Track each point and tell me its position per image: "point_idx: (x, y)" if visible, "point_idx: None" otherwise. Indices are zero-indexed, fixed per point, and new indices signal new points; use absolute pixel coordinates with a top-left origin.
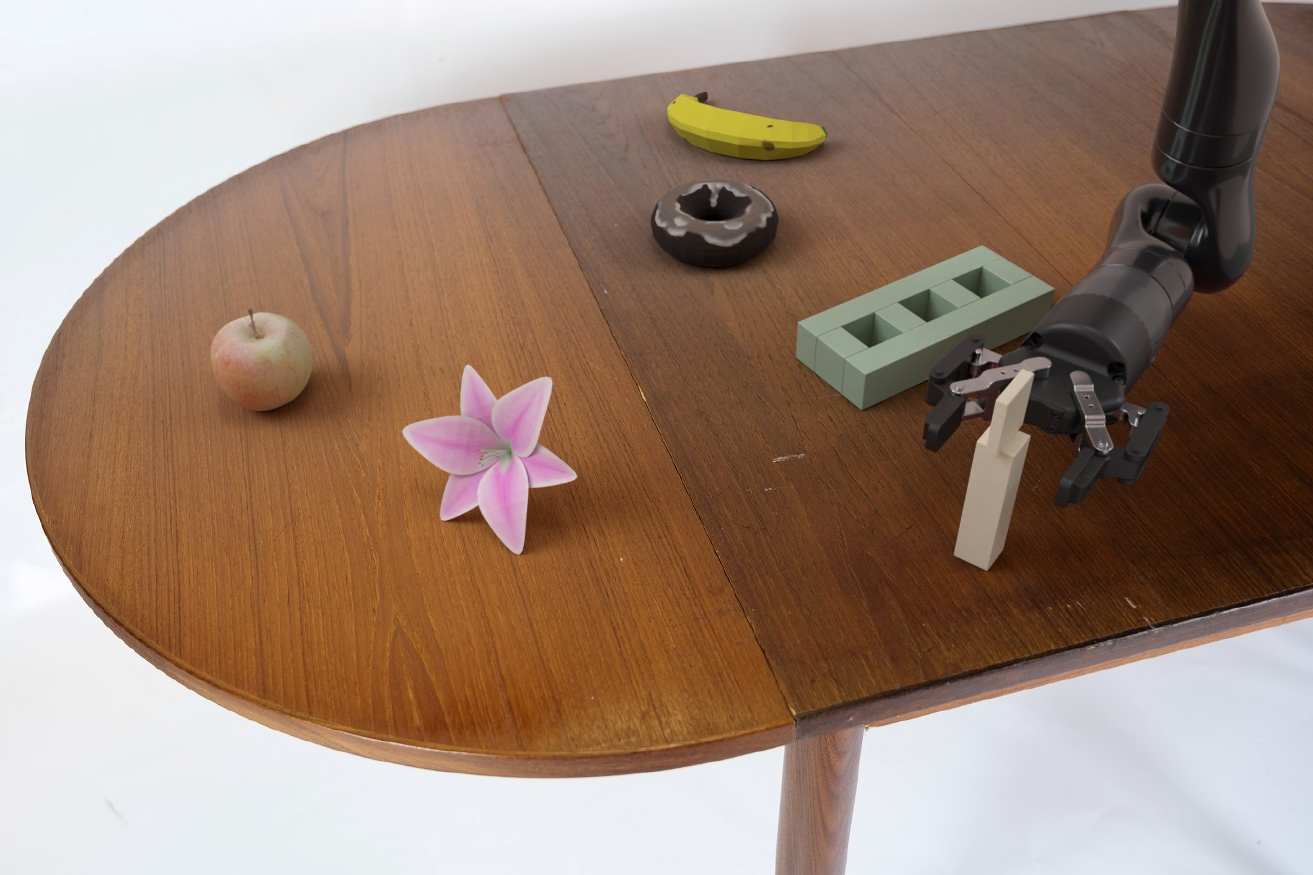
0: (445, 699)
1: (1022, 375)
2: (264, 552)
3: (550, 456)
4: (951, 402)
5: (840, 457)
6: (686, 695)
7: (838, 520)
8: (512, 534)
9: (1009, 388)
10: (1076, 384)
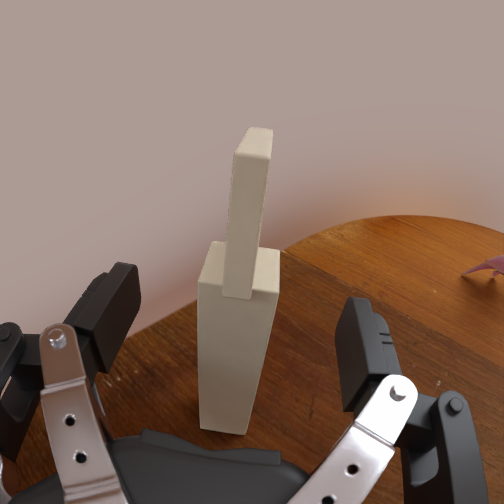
0: (402, 225)
1: (258, 149)
2: (495, 248)
3: (501, 256)
4: (380, 352)
5: None
6: (335, 245)
7: None
8: (471, 271)
9: (265, 136)
10: (114, 494)
